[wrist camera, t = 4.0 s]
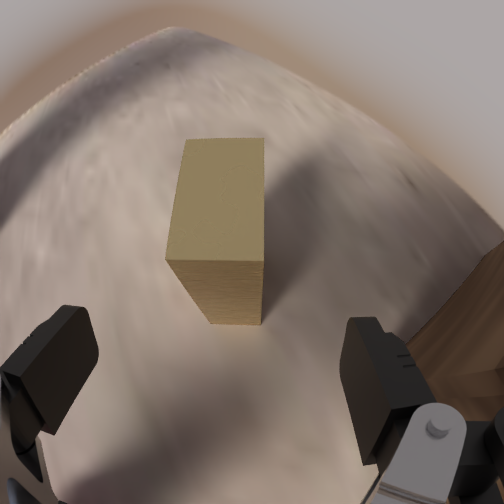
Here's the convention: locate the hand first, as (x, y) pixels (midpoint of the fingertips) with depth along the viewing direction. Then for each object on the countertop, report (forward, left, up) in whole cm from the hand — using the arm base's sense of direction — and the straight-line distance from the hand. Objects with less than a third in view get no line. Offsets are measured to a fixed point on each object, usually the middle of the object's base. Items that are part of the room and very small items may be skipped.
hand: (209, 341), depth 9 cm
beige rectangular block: (-4, +3, -9) cm, 11 cm away
